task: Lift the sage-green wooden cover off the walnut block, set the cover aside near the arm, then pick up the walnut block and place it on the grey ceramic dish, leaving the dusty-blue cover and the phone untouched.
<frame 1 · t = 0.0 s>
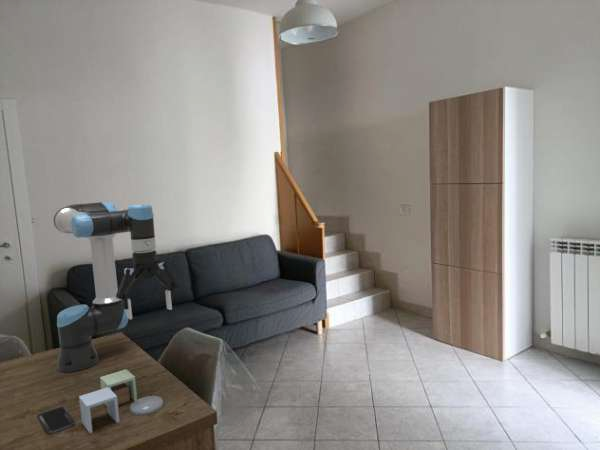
hand: (150, 313, 155), 28 cm above the table, tool pointing down, fingers open, 13 cm apart
phone: (56, 422, 144), on the table
blue cover: (100, 422, 141), on the table
sage cover: (119, 400, 155), on the table
dish: (146, 406, 149), on the table
walnut block: (119, 401, 155), on the table
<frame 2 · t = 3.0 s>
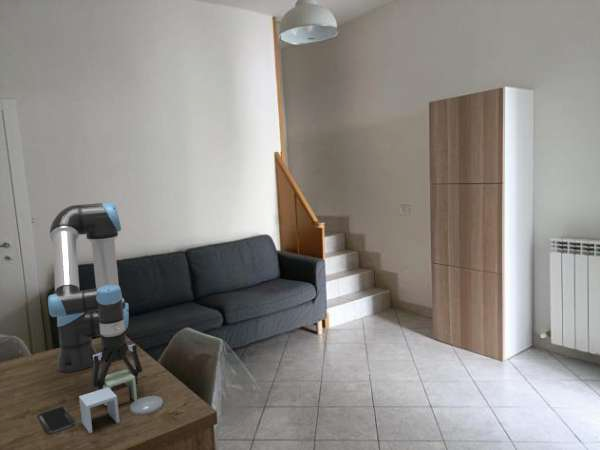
hand: (119, 398, 154), 1 cm above the table, tool pointing down, fingers closed on sage cover, 9 cm apart
sage cover: (119, 400, 155), on the table, touching gripper
everything else where it was.
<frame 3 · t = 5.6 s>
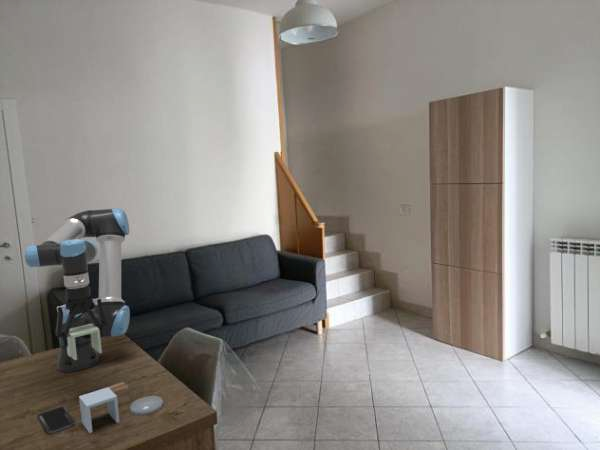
hand: (84, 351, 157), 16 cm above the table, tool pointing down, fingers closed on sage cover, 9 cm apart
sage cover: (84, 353, 157), point 15 cm above the table, touching gripper
everything else where it was.
when the fingers open (2 cm above the table, at t = 8.2 s): sage cover drops 2 cm, on the table.
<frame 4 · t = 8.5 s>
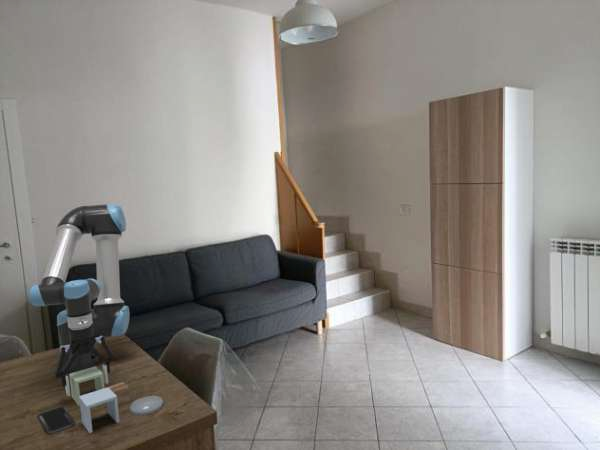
hand: (87, 388, 158), 3 cm above the table, tool pointing down, fingers open, 11 cm apart
sage cover: (88, 396, 159), on the table
everything else where it was.
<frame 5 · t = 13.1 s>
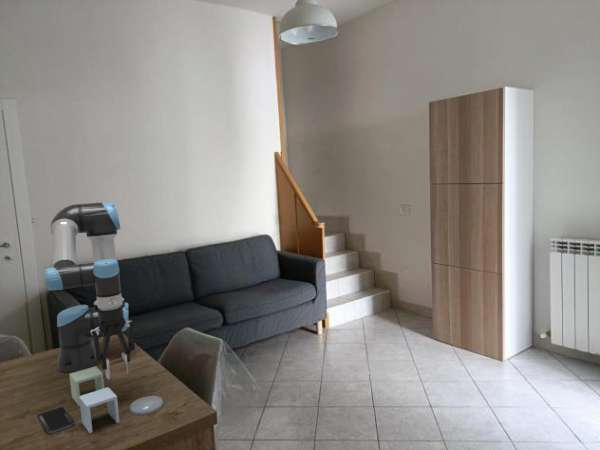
hand: (117, 374, 154), 9 cm above the table, tool pointing down, fingers closed on walnut block, 5 cm apart
walnut block: (117, 376, 154), point 8 cm above the table, touching gripper
everything else where it was.
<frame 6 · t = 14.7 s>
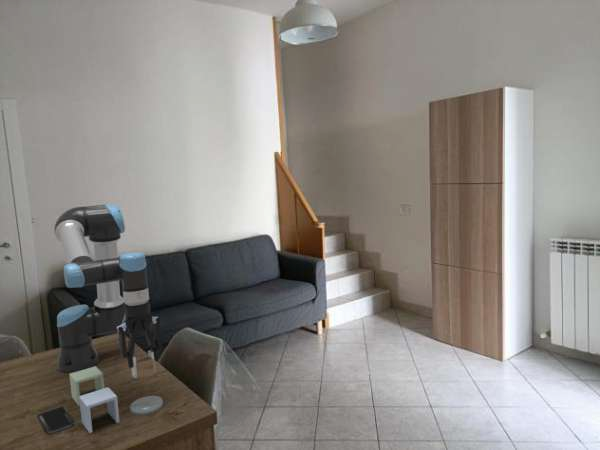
hand: (143, 373, 148), 11 cm above the table, tool pointing down, fingers closed on walnut block, 5 cm apart
walnut block: (143, 374, 148), point 11 cm above the table, touching gripper
everything else where it was.
when the fingers open (2 cm above the table, at t = 16.6 s): walnut block stays where it is, resting on dish.
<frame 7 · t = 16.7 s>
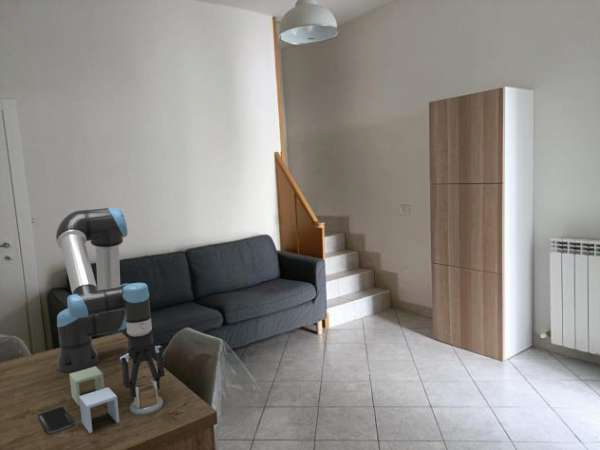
hand: (146, 402, 149), 2 cm above the table, tool pointing down, fingers open, 5 cm apart
walnut block: (146, 403, 149), point 1 cm above the table, touching dish
everything else where it was.
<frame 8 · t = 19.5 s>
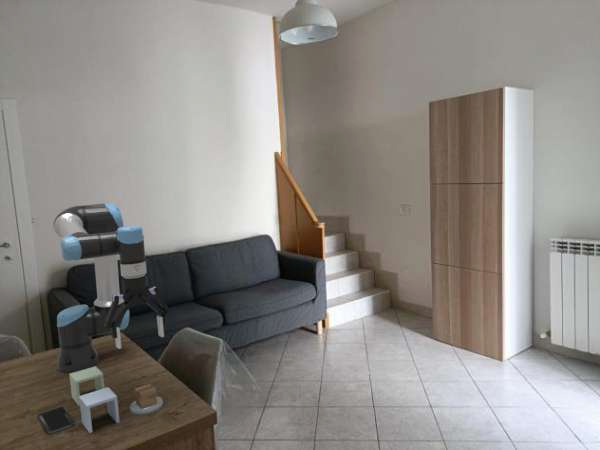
hand: (140, 341, 147), 22 cm above the table, tool pointing down, fingers open, 13 cm apart
nothing on the table moved.
at the end: walnut block inside the target area on the dish (0.2 cm from its centre), point 1.2 cm above the dish's base; sage cover moved 13.0 cm from its start; the gripper is holding nothing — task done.
